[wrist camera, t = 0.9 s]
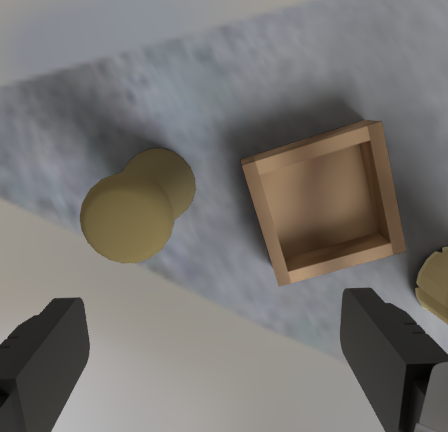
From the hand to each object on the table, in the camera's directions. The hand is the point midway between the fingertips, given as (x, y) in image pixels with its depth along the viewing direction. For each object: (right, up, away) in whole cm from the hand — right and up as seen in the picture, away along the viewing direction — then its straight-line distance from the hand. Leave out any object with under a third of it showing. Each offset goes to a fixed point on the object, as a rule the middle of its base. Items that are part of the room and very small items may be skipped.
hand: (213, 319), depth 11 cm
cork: (-5, +6, +19) cm, 20 cm away
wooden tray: (+8, +5, +18) cm, 21 cm away
